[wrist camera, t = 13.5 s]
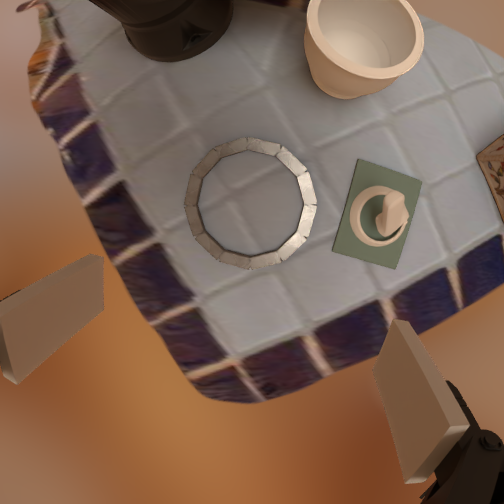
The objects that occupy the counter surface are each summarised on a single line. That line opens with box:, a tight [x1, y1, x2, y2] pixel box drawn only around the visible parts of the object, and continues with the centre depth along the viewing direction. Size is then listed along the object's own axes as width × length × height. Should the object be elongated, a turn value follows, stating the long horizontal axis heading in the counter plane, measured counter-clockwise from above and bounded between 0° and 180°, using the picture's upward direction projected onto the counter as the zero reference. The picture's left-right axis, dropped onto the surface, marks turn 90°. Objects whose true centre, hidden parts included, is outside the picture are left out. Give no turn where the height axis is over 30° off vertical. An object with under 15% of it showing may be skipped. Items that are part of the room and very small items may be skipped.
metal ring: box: [184, 137, 317, 270], centre depth 39 cm, size 16×16×1 cm
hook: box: [350, 186, 409, 247], centre depth 34 cm, size 8×12×7 cm
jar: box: [304, 0, 424, 99], centre depth 26 cm, size 11×10×15 cm
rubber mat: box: [332, 159, 422, 269], centre depth 37 cm, size 12×9×1 cm
